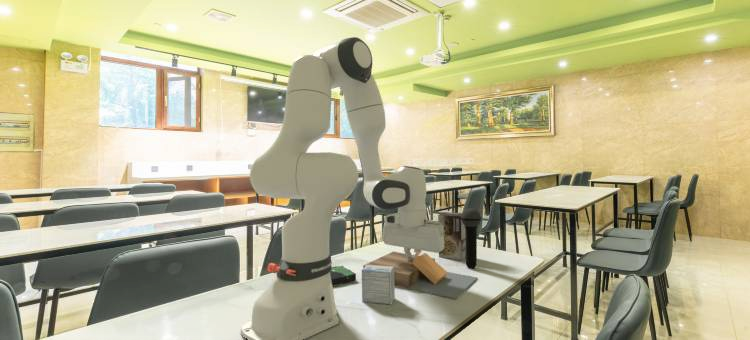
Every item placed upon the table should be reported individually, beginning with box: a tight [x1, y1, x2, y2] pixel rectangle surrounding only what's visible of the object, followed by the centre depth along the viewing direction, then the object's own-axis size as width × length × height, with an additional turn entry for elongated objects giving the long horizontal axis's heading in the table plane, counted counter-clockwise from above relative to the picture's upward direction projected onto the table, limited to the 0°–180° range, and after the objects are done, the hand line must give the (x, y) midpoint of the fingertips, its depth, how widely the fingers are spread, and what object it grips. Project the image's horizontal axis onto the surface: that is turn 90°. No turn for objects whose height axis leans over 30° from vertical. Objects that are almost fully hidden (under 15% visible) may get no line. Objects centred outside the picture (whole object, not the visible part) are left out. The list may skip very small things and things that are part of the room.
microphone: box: [461, 208, 482, 270], centre depth 114 cm, size 7×7×20 cm
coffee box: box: [437, 211, 466, 261], centre depth 127 cm, size 9×6×16 cm
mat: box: [408, 271, 478, 300], centre depth 101 cm, size 18×14×1 cm
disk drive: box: [330, 265, 357, 287], centre depth 105 cm, size 10×3×15 cm
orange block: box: [412, 252, 449, 284], centre depth 104 cm, size 7×9×2 cm
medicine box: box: [361, 265, 396, 305], centre depth 90 cm, size 8×4×9 cm, turn 74°
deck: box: [362, 251, 436, 290], centre depth 109 cm, size 18×16×4 cm
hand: (412, 262), depth 107 cm, fingers closed
